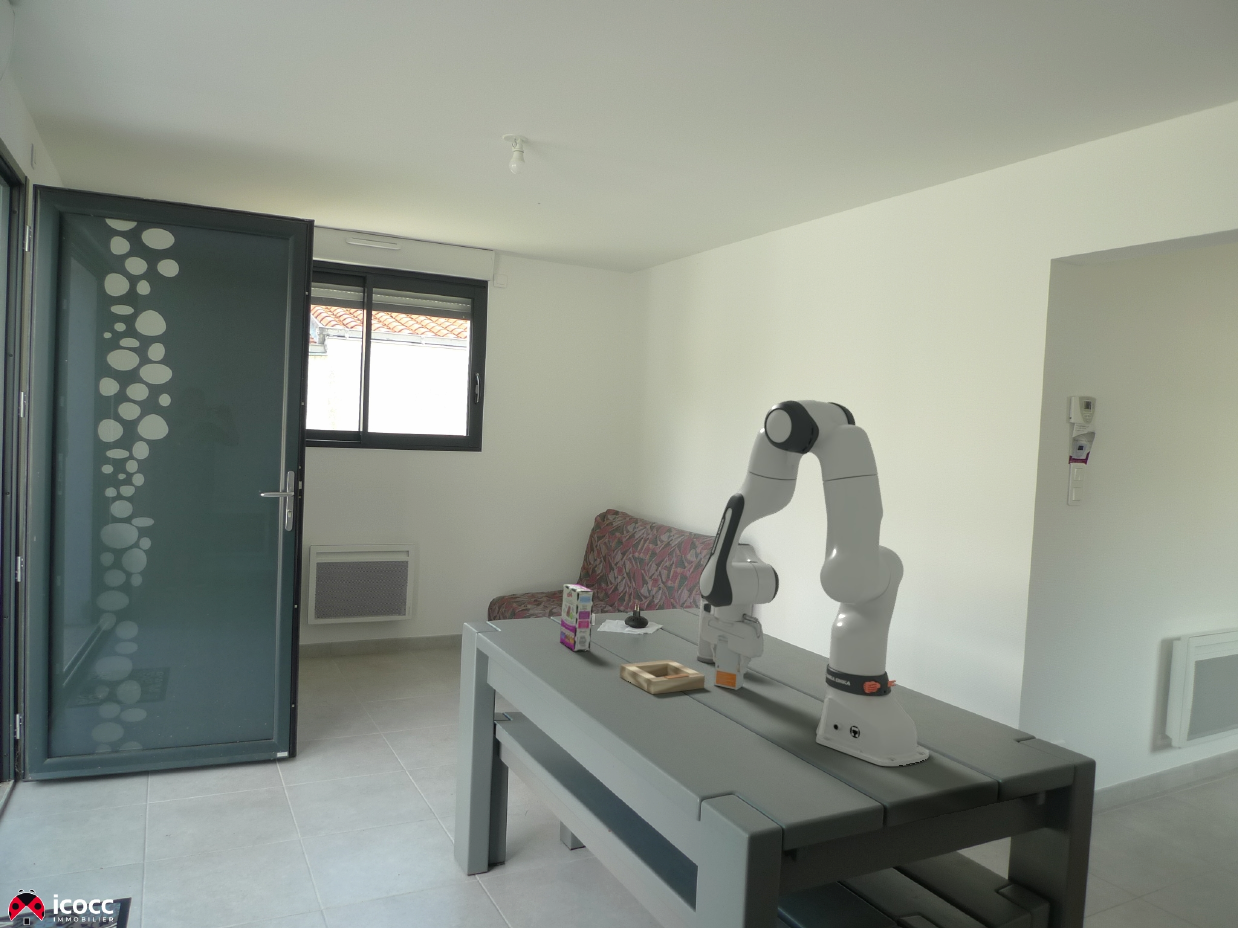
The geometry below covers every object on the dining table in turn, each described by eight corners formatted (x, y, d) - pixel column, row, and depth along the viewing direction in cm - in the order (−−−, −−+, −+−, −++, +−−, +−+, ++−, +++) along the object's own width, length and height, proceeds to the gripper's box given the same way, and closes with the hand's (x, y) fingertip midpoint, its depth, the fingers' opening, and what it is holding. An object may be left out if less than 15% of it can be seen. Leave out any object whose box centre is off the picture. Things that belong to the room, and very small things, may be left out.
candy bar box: (591, 651, 231) (594, 590, 230) (574, 652, 228) (577, 591, 228) (575, 640, 241) (579, 583, 240) (559, 641, 239) (562, 583, 238)
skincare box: (713, 685, 205) (716, 636, 204) (719, 681, 208) (722, 632, 208) (737, 690, 202) (740, 640, 201) (743, 686, 206) (746, 636, 205)
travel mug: (722, 663, 225) (727, 588, 224) (697, 662, 225) (702, 587, 225) (720, 657, 231) (725, 584, 231) (696, 656, 231) (700, 582, 231)
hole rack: (704, 687, 202) (704, 674, 202) (652, 694, 195) (653, 680, 195) (669, 671, 215) (670, 658, 215) (619, 676, 207) (620, 663, 207)
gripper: (772, 618, 197) (768, 677, 198) (717, 601, 215) (714, 655, 215) (750, 620, 194) (746, 680, 194) (697, 602, 212) (694, 657, 212)
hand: (729, 667), depth 205 cm, fingers open, 8 cm apart
